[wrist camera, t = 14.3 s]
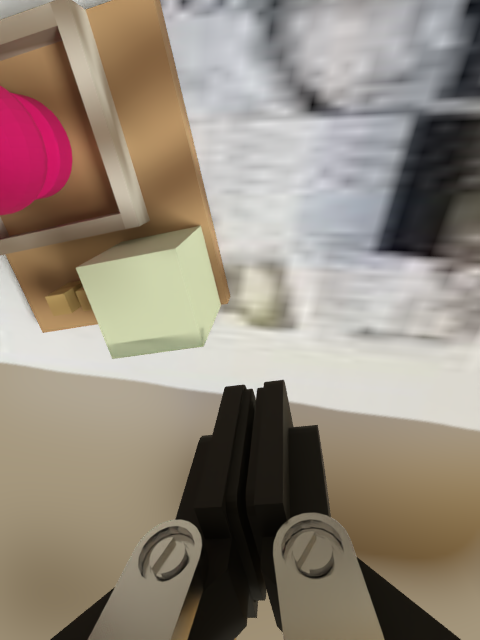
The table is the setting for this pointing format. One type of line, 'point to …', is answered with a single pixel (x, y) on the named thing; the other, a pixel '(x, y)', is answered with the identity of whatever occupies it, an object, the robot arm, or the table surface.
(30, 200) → the pepper mill
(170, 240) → the block
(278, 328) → the table surface
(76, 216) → the stand
